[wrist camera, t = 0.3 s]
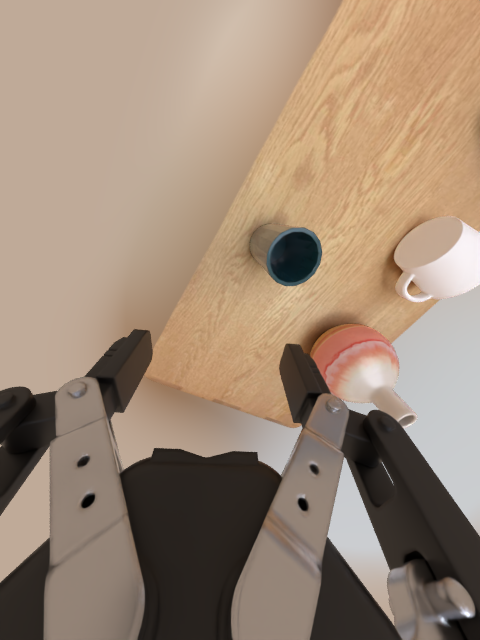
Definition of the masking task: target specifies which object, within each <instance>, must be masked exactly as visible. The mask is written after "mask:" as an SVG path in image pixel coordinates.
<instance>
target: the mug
mask: <svg viewBox="0 0 480 640" xmlns="http://www.w3.org/2000/svg"><path fill="white" fill-rule="evenodd" d="M394 260H395V263H396V264H397V265H398V266H399V267H400V268H401V269H402V270H403V273H402V275H401V276H400V277H399V279H398V281H397V283H396V286H395V289H396V292H397V294H398V295H399V296H401V297H402V298H405V299H407V300H409V301H412V302H423V301H426V300H428V299H430V298H432V299H445V298H451V297H455V296H458V295H461V294H463V293H465V292H468V291H470V290H471V289H473V288H475V287H476V286H478V285H479V284H480V232H477V231H476V230H475V229H473V228H472V227H470V226H469V225H467V224H466V223H464V222H463V221H461V220H460V219H459V218H457V217H453V216H442V217H437V218H434V219H431V220H428V221H426V222H424V223H422V224H420V225H419V226H417V227H416V228H414V229H413V230H411V231H410V232H409V233H408V234H407V235H406V236H405V237H404V238H403V239H402V240H401V241H400V243H399V244H398V246H397V248H396V250H395V253H394ZM411 280H412V281H413V282H414V283H415V285H416V286H417V287H418V288H419V289H420V290H421V292H420V293H419V294H417V295H409V294H408V292H407V287H408V285H409V283H410V282H411Z"/></svg>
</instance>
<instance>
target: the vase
mask: <svg viewBox="0 0 480 640" xmlns="http://www.w3.org/2000/svg"><path fill="white" fill-rule="evenodd" d="M310 357H311V358H312V359H313V360H314V361H315V363H316V365H317V368H318V369H319V371H320V374H322V376H323V378H324V380H325V382H326V384H327V386H328V388H329V390H330V392H331V394H332V395H334V396H336V397H338V398H339V399H342V400H345V401H348V402H354V403H374V404H375V405H376V407H377V408H378V409H379V410H380V411H383V412H385V413H387V414H389V415H390V416H392V417H393V418H394V419H396V420H397V421H398V422H399V423H400V425H401V426H402V427H403V428H406V427H409V426H411V425H412V424H414V423H415V421H416V420H417V414H416V413H415V412H414V411H413V410H412V409H411V408H410V407H409V406H408V405H407V404H406V403H405V402H404V401H403V400H402V399H401V398H400V397H399V396H398V395H397V394H396V392H394V390H393V389H394V387H395V385H396V382H397V379H398V376H399V361H398V357H397V354H396V351H395V350H394V348H393V346H392V345H391V343H390V342H389V341H388V340H387V339H386V338H385V337H384V336H383V335H382V334H381V333H379V332H378V331H376V330H375V329H373V328H371V327H368V326H365V325H361V324H343V325H339V326H336V327H333V328H331V329H329V330H328V331H326V332H325V333H323V334H322V335H321V336H320V337H319V338H318V339H317V341H316V342H315V344H314V345H313V348H312V350H311V354H310Z"/></svg>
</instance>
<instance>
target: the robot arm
mask: <svg viewBox="0 0 480 640" xmlns="http://www.w3.org/2000/svg"><path fill="white" fill-rule="evenodd" d="M152 354H153V351H152V343H151V334H150V331H148V330H137V329H135V330H133V331H132V332H131V334H130V335H129V336H128V337H127V338H126V337H123V338H121V339H119V340H118V341H116V342H115V343H114V344H113V345H112V346H111V347H110V348H109V350H108V351H107V352H106V353H105V354H104V356H102V357H101V358H100V360H99V361H98V362H97V363H96V364H95V365H94V366H93V368H92V369H91V370H90V371H89V372H88V373H87V374H86V375H85V377H81V378H77V379H74V380H72V381H70V382H68V383H66V384H64V385H63V386H62V387H61V388H60V389H59V390H58V391H54V392H48V393H42V394H36V395H33V394H32V393H31V391H30V390H29V389H28V388H26V387H12V388H8V389H5V390H2V391H0V444H1V445H2V446H1V447H0V515H1V514H2V513H3V511H4V510H5V508H6V507H7V505H8V504H9V502H10V501H11V500H12V498H13V497H14V496H15V494H16V493H17V491H18V490H19V489H20V487H21V486H22V484H23V483H24V481H25V480H26V479H27V477H28V476H29V474H30V473H31V471H32V470H33V469H34V467H35V466H36V464H37V463H38V462H39V460H40V459H41V457H42V456H43V454H44V453H45V452H46V450H47V449H48V447H49V446H50V538H48V539H47V540H46V541H45V542H44V543H43V544H42V545H41V546H40V547H39V548H38V549H36V550H35V551H34V552H33V553H32V554H31V555H30V556H29V557H28V558H27V559H26V560H24V561H23V562H22V563H21V564H20V565H19V566H18V567H17V568H16V569H15V570H14V571H12V572H11V573H10V574H9V575H8V576H7V577H6V578H5V579H4V580H3V581H2V582H1V583H0V640H480V536H479V535H478V533H477V532H476V531H475V529H474V528H473V526H472V525H471V524H470V522H469V521H468V519H467V518H466V517H465V515H464V514H463V512H462V511H461V509H460V508H459V507H458V505H457V504H456V502H455V501H454V500H453V498H452V497H451V495H450V494H449V492H448V491H447V490H446V488H445V487H444V485H443V484H442V483H441V481H440V480H439V478H438V477H437V476H436V474H435V473H434V472H433V470H432V468H431V467H430V466H429V464H428V463H427V461H426V460H425V459H424V457H423V456H422V454H421V453H420V451H419V450H418V449H417V447H416V446H415V444H414V443H413V442H412V440H411V439H410V437H409V436H408V435H407V433H406V432H405V430H404V429H403V427H402V426H401V425H400V423H399V422H398V421H397V420H396V419H394V418H393V417H392V416H390V415H389V414H387V413H385V412H383V411H380V410H372V411H370V412H369V413H368V415H367V416H366V415H363V414H360V413H357V412H355V411H352V410H349V409H348V407H347V406H346V404H345V403H344V402H343V401H342V400H341V399H339V398H338V397H336V396H334V395H332V394H331V392H330V390H329V388H328V386H327V384H326V382H325V380H324V378H323V376H322V374H320V371H319V369H318V368H317V365H316V363H315V361H314V360H313V359H312V358H311V357H310V356H309V355H308V354H305V353H304V352H303V350H302V348H301V346H300V345H297V344H286V345H285V348H284V352H283V355H282V358H281V361H280V367H279V370H280V375H281V379H282V382H283V386H284V390H285V393H286V397H287V400H288V404H289V408H290V411H291V415H292V419H293V422H294V423H301V424H302V427H303V429H302V431H301V433H300V435H299V437H298V439H297V442H296V444H295V446H294V449H293V451H292V453H291V455H290V457H289V459H288V461H287V464H286V466H285V468H284V470H283V472H282V474H281V475H279V473H277V472H276V471H275V470H274V469H273V468H271V467H270V466H268V465H267V464H265V463H263V462H260V461H258V455H257V452H239V451H238V452H237V451H232V452H228V453H224V454H221V455H216V456H212V457H207V458H205V457H202V456H199V455H196V454H193V453H190V452H187V451H184V450H181V449H164V448H154V451H153V454H152V457H149V458H146V459H143V460H140V461H139V462H136V463H134V464H133V465H131V466H129V467H128V468H126V469H125V470H124V468H123V465H122V461H121V458H120V455H119V450H118V447H117V443H116V439H115V435H114V431H113V427H112V423H111V417H112V416H113V414H114V412H120V413H123V412H124V411H125V409H126V407H127V405H128V403H129V402H130V399H131V398H132V396H133V394H134V392H135V390H136V389H137V387H138V385H139V383H140V381H141V379H142V377H143V375H144V374H145V372H146V370H147V368H148V366H149V364H150V362H151V360H152ZM344 457H345V458H346V459H347V462H348V465H349V467H350V470H351V472H352V475H353V477H354V479H355V482H356V485H357V487H358V490H359V492H360V495H361V497H362V500H363V503H364V505H365V508H366V510H367V513H368V515H369V518H370V520H371V523H372V525H373V528H374V531H375V533H376V535H377V538H378V541H379V543H380V546H381V548H382V550H383V553H384V556H385V558H386V561H387V564H388V566H389V569H390V572H389V574H388V578H387V587H388V594H389V605H390V608H391V611H392V613H393V615H394V622H395V626H394V625H393V624H392V622H391V621H390V619H389V618H388V617H387V615H386V614H385V613H384V611H383V610H382V609H381V607H380V606H379V605H378V603H377V602H376V601H375V600H374V598H373V597H372V595H371V594H370V593H369V591H368V590H367V589H366V587H365V586H364V585H363V583H362V582H361V581H360V579H359V578H358V577H357V575H356V574H355V573H354V572H353V570H352V569H351V567H350V566H349V565H348V564H347V562H346V561H345V559H344V558H343V557H342V556H341V554H340V553H339V552H338V550H337V549H336V547H335V546H334V545H333V544H332V542H331V541H330V540H329V538H328V537H327V534H328V530H329V525H330V520H331V515H332V511H333V506H334V501H335V497H336V492H337V487H338V483H339V478H340V473H341V469H342V464H343V459H344ZM382 462H383V464H384V466H385V468H386V469H387V472H388V473H389V475H390V477H391V479H392V481H393V483H392V481H391V479H390V477H389V476H388V474H387V472H386V470H385V468H384V466H383V464H382ZM393 484H394V485H393Z"/></svg>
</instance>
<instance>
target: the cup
mask: <svg viewBox="0 0 480 640" xmlns="http://www.w3.org/2000/svg"><path fill="white" fill-rule="evenodd" d="M250 251H251V254H252V256H253V258H254V259H255V260H256V261H257V262H258V263H259V264H260V265H261V266H262V267H263V269H264V270H265V271H266V272H267V273H268V274H269V275H270V276H271V277H272V278H273V279H274V280H275V281H276V282H277V283H279V284H282V285H284V286H296V285H299V284H301V283H303V282H306V281H307V280H308V279H309V278H310V277H311V276H313V275H314V274H315V272H316V270H317V268H318V267H319V265H320V261H321V256H322V249H321V243H320V240H319V239H318V238H317V236H316V235H315V233H314V232H312V231H310V230H308V229H306V228H303V227H296V226H288V225H280V224H265V225H262V226H260V227H259V228H258V229H257V230H256V231H255V232H254V233H253V235H252V237H251V240H250Z"/></svg>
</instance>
